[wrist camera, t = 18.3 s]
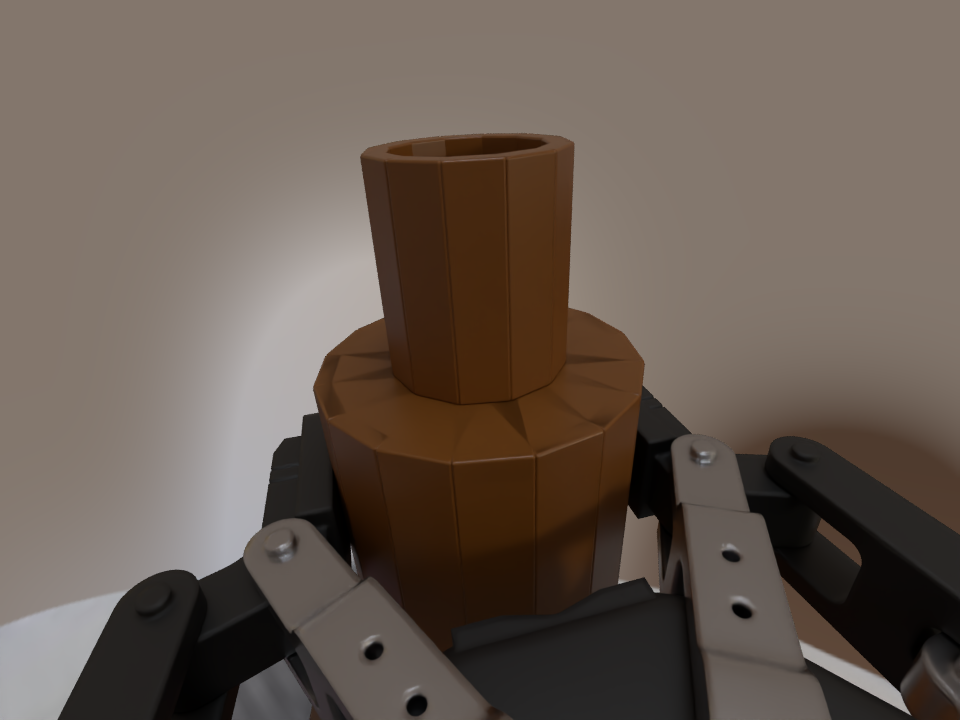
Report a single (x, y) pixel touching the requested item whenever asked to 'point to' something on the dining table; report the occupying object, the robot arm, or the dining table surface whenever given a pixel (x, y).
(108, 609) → the dining table surface
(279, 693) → the dining table surface
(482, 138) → the bottle
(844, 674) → the dining table surface
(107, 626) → the robot arm
